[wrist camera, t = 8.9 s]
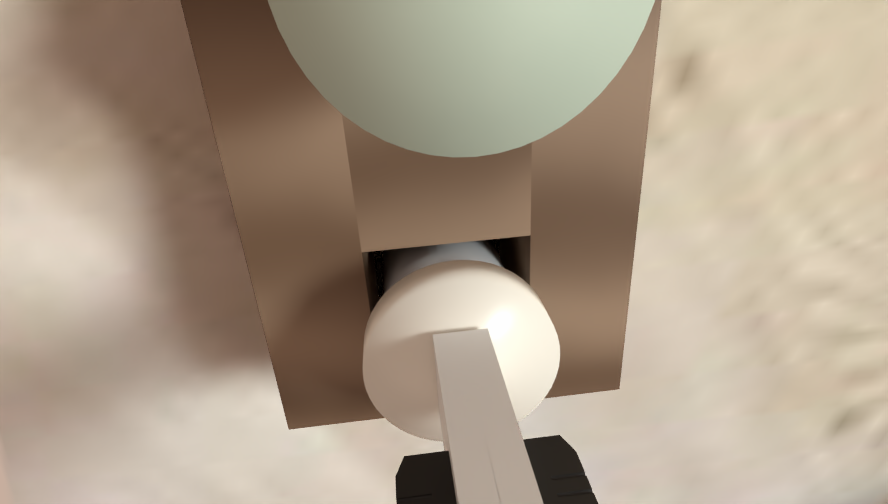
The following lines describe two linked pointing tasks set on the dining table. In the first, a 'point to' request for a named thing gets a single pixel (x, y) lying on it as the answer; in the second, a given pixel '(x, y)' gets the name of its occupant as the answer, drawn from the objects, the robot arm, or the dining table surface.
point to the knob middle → (460, 65)
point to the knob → (453, 330)
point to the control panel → (412, 211)
